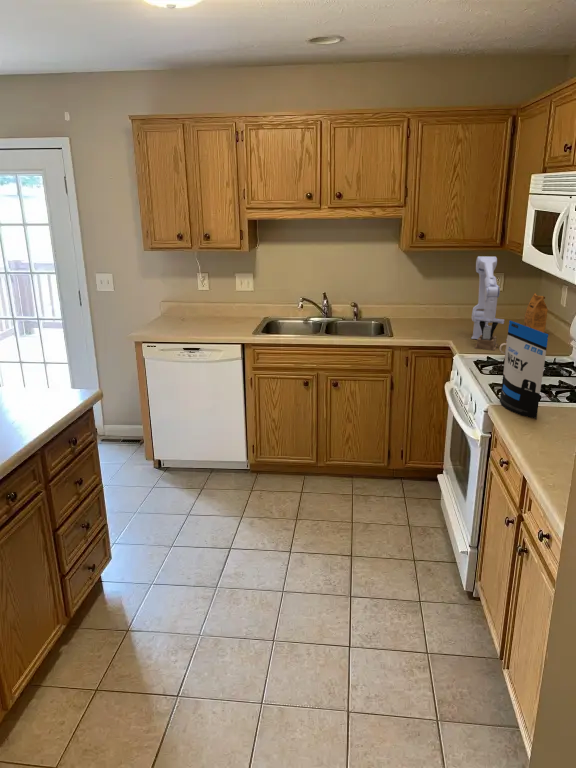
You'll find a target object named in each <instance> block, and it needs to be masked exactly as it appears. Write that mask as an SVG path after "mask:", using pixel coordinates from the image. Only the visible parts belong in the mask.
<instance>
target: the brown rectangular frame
mask: <svg viewBox="0 0 576 768" xmlns="http://www.w3.org/2000/svg"><path fill="white" fill-rule="evenodd" d="M482 339H483V336H482V335H481V336H480V337H479V338H478V339H476V344H475V346H474V349H478V350H488V351H495V350H496V349H497V348H498V345H499V343H497V336H496V335H493V336H492V338H491V340H482Z"/></svg>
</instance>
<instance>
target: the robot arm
mask: <svg viewBox="0 0 576 768" xmlns="http://www.w3.org/2000/svg"><path fill="white" fill-rule="evenodd" d="M497 265H498V258H497V256H488V255H487V256H485V255H484V256H483V255H482V256H480V255H478V256H477V257H476V260H475V272H476V273H478V276H479V280H478V281H479V282H478V301H477V304H476V305H475V306H473V308H472V311H471V321H472V322H473V328H472V329H473V330H472V331H473V332H472V335H471V338H470V339H472V340H478V338H479V337H480V336H481V335H482V336H483V330H484V327H485V326H486V325H489V323H491V326H492V331H491V337H492V336H494V332H495V330H496V327H498V324H501V325H504V323H505V319H504V318H503V319H502V318H496V313H497V305H498V298H499V297H500V286H499V285H498V283H497V277H496V276H495V275H494V271H495V270H496V267H497Z"/></svg>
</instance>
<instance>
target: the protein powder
mask: <svg viewBox="0 0 576 768" xmlns="http://www.w3.org/2000/svg"><path fill="white" fill-rule="evenodd" d="M507 329H508V330H507V336H506V340H507V341H506V342H507V345H505V350H506V354H504V365H503V373H502V381H501V389H500V399H499V404H500V405H501V406H502V407H503V408H504V409H506V410H507V411H510V412H511V413H514V414H517V415H519V416H522V417H527V418H530V419H534V420H537V418H538V411H539V404H540V403H539V402H540V395H541V394H540V393H541V388H542V382H543V376H544V368H545V363H546V354H547V348H548V338H549V334H548V333H545V332H544V333H543V332H540V331H538V330H535V329H532V328H530V327H527V326H524V324H520V323H519V322H515V321H513V320H510V319H509V321H508V328H507Z"/></svg>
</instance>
